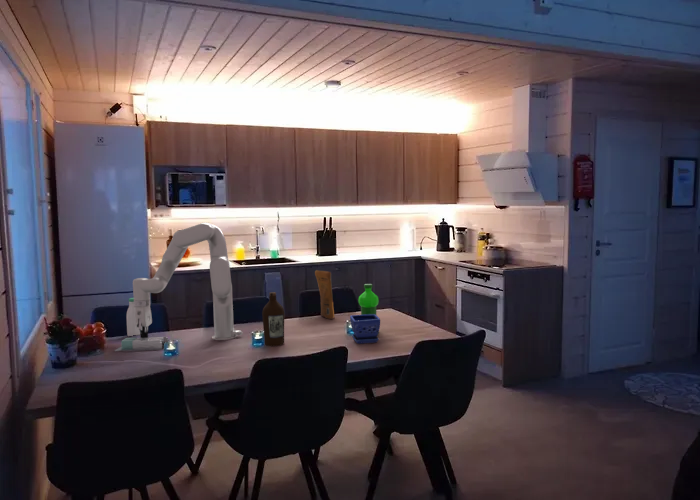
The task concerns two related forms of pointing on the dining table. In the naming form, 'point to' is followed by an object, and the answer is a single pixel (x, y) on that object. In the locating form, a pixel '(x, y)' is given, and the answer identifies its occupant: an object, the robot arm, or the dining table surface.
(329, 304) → the pancake mix bag
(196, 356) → the dining table surface
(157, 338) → the toothpaste tube
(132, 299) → the milk bottle
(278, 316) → the olive oil
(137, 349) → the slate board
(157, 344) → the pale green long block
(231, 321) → the robot arm
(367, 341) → the flower pot
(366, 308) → the plastic bottle
